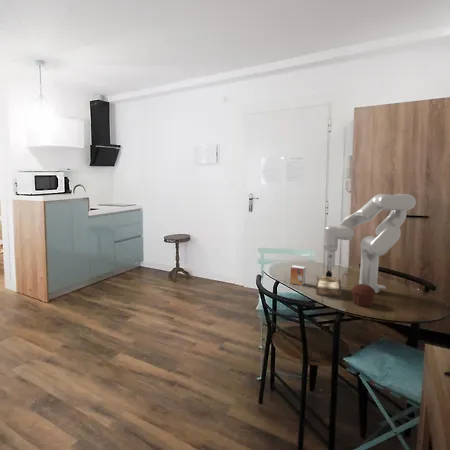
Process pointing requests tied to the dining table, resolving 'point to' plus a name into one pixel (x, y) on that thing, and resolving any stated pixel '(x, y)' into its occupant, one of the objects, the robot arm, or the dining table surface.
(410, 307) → the dining table surface
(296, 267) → the small box
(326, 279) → the lid
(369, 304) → the muffin
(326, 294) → the walnut box
